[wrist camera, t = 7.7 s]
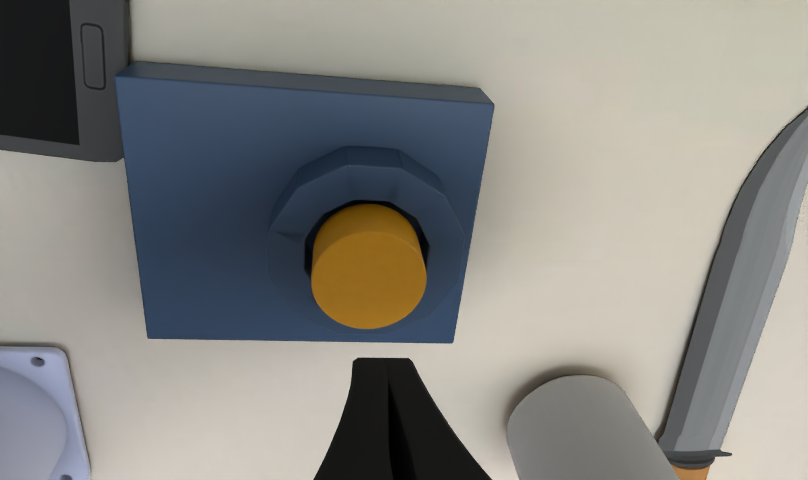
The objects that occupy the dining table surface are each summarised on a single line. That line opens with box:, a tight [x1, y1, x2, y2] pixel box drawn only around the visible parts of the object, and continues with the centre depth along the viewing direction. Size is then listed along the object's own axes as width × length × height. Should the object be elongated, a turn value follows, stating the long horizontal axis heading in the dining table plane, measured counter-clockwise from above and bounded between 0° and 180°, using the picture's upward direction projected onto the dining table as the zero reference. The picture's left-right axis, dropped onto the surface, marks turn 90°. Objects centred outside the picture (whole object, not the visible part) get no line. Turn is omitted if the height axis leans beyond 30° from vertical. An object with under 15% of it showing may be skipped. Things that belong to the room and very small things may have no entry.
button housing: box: [114, 61, 495, 343], centre depth 21 cm, size 12×10×4 cm
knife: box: [658, 109, 808, 480], centre depth 29 cm, size 30×1×5 cm
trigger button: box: [311, 204, 427, 329], centre depth 19 cm, size 4×4×2 cm
